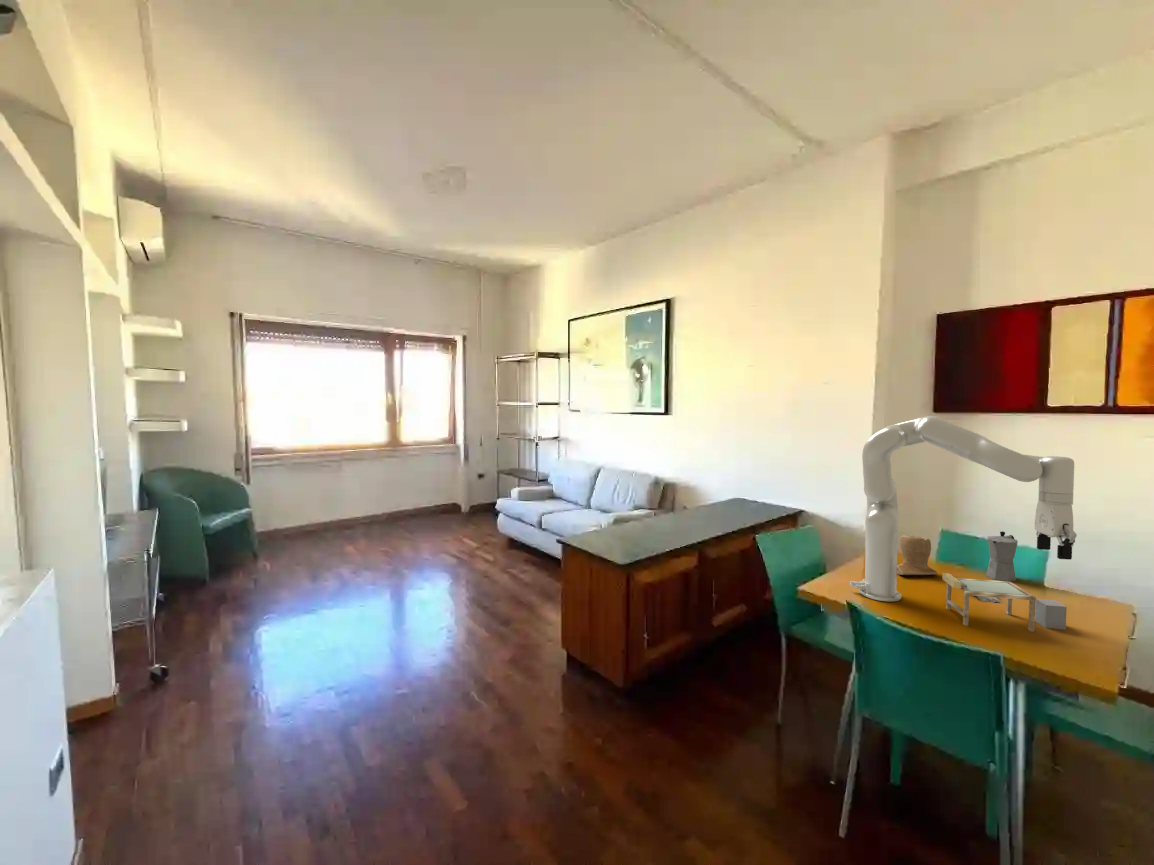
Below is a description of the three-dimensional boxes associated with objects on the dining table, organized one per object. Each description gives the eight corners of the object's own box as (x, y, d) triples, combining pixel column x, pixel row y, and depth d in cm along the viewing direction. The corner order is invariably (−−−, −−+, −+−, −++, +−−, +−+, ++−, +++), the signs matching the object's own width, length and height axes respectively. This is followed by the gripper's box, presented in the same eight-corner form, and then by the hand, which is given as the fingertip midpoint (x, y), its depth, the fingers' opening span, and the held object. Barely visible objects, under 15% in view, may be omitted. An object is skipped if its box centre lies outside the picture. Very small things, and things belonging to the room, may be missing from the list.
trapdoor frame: (964, 625, 153) (965, 591, 152) (945, 608, 165) (946, 577, 164) (1034, 631, 148) (1035, 597, 147) (1009, 613, 160) (1011, 581, 160)
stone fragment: (983, 606, 169) (1013, 605, 169) (983, 597, 169) (1013, 597, 168) (932, 578, 194) (958, 578, 194) (932, 571, 194) (959, 571, 194)
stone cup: (921, 568, 204) (922, 531, 203) (942, 578, 193) (943, 540, 192) (884, 568, 205) (885, 532, 204) (902, 578, 193) (903, 540, 192)
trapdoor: (954, 592, 154) (955, 582, 154) (940, 581, 164) (941, 572, 163) (1025, 598, 149) (1025, 587, 149) (1006, 586, 159) (1007, 576, 158)
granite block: (1045, 627, 150) (1046, 605, 150) (1035, 620, 155) (1036, 598, 155) (1065, 629, 149) (1066, 606, 148) (1054, 622, 154) (1055, 600, 153)
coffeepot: (1007, 584, 185) (1009, 536, 184) (977, 577, 193) (979, 531, 192) (1026, 577, 192) (1028, 531, 191) (997, 570, 200) (998, 525, 199)
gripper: (1023, 492, 159) (1021, 545, 160) (1058, 503, 142) (1056, 562, 143) (1052, 493, 157) (1050, 546, 158) (1091, 504, 140) (1089, 563, 141)
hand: (1053, 554), depth 151 cm, fingers open, 9 cm apart
